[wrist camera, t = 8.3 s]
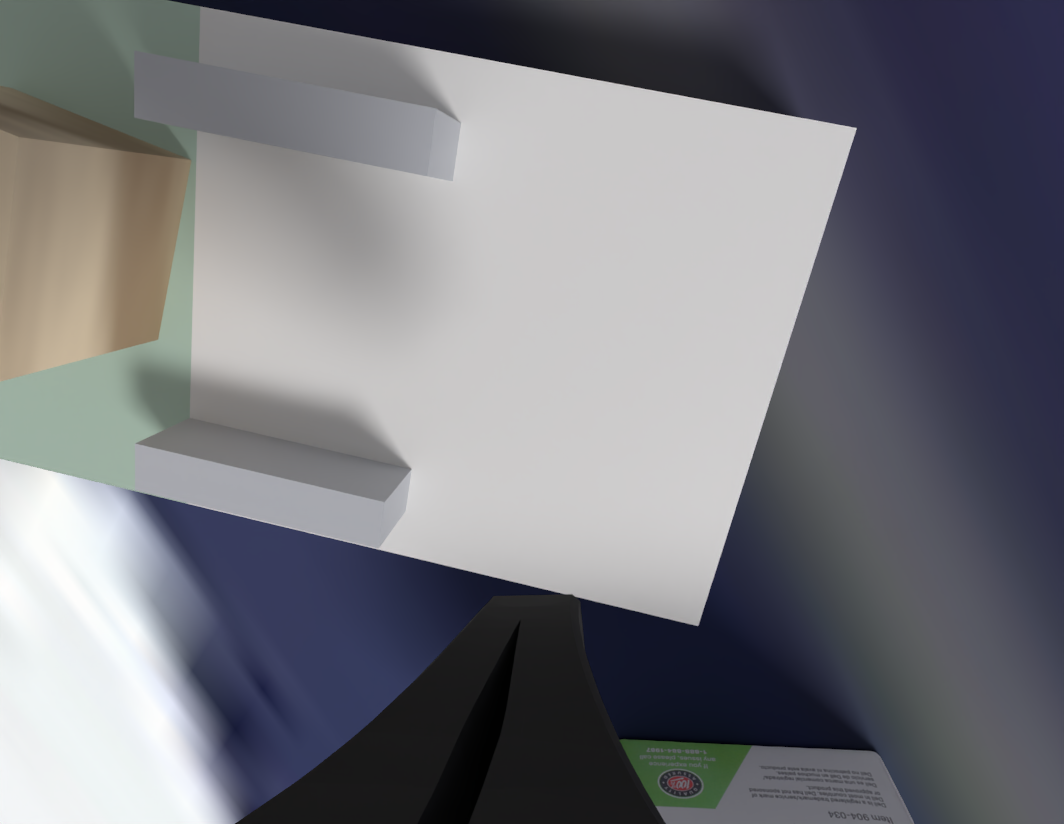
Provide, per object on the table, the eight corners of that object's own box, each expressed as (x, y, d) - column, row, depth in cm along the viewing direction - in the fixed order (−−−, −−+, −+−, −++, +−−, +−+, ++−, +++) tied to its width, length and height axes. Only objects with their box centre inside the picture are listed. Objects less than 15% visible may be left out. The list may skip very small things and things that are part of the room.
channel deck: (814, 144, 16) (897, 112, 11) (686, 566, 19) (708, 678, 15) (-231, -52, 18) (-542, -151, 13) (-167, 366, 21) (-392, 409, 17)
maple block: (192, 160, 15) (19, 137, 11) (158, 339, 16) (-6, 382, 12) (12, 88, 15) (-232, 36, 11) (-6, 273, 16) (-227, 293, 12)
